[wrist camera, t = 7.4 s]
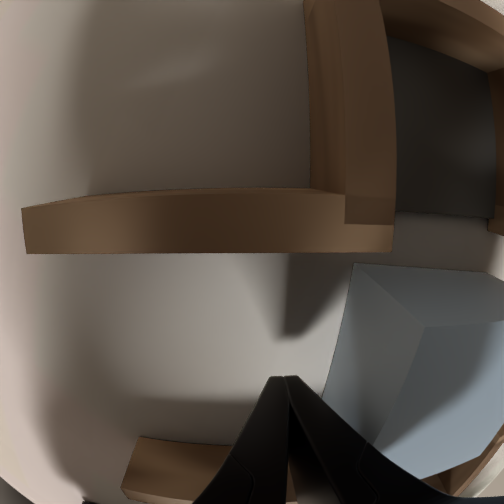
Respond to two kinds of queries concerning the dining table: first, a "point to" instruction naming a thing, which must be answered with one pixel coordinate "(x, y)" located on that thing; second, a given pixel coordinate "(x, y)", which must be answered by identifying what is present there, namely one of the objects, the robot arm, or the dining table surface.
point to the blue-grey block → (421, 364)
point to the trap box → (328, 179)
